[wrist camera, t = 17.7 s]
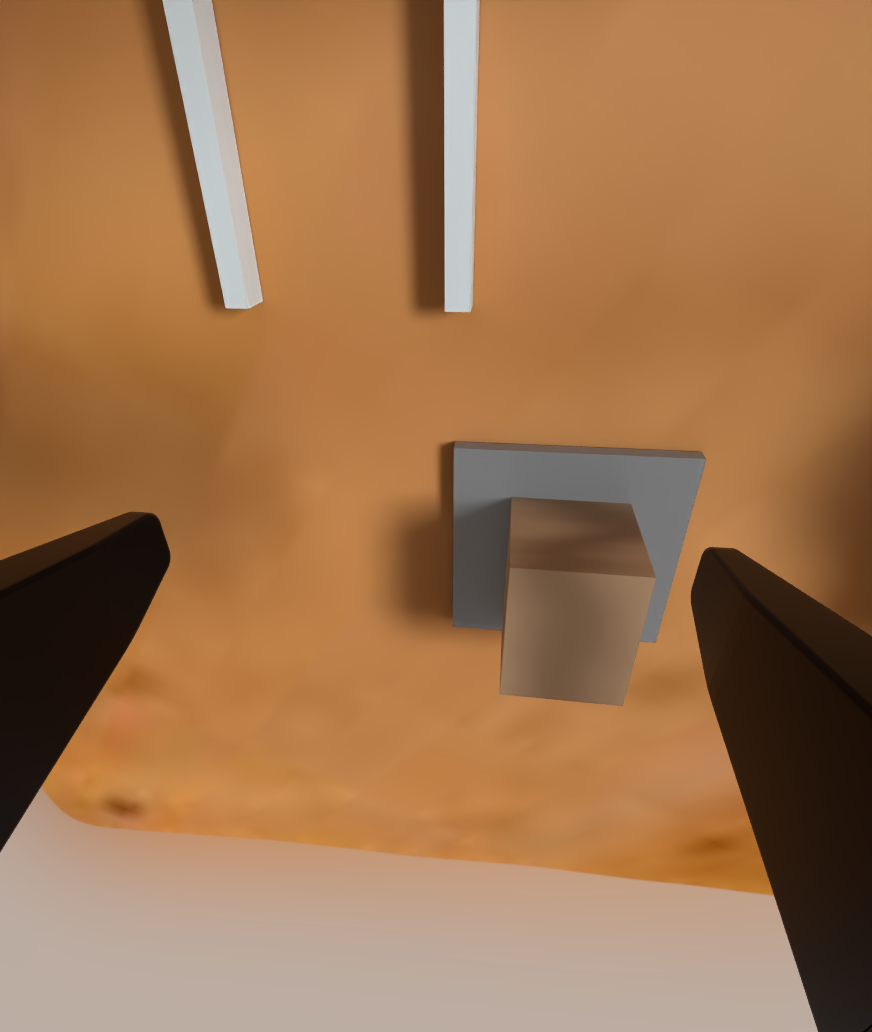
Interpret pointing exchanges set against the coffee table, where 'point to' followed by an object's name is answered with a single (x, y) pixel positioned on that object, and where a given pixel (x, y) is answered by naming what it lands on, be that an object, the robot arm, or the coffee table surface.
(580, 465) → the slate coaster
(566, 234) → the coffee table surface
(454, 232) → the acrylic channel
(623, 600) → the walnut block
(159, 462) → the coffee table surface
